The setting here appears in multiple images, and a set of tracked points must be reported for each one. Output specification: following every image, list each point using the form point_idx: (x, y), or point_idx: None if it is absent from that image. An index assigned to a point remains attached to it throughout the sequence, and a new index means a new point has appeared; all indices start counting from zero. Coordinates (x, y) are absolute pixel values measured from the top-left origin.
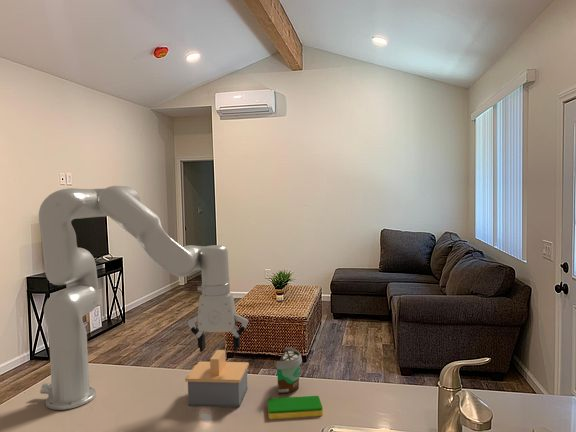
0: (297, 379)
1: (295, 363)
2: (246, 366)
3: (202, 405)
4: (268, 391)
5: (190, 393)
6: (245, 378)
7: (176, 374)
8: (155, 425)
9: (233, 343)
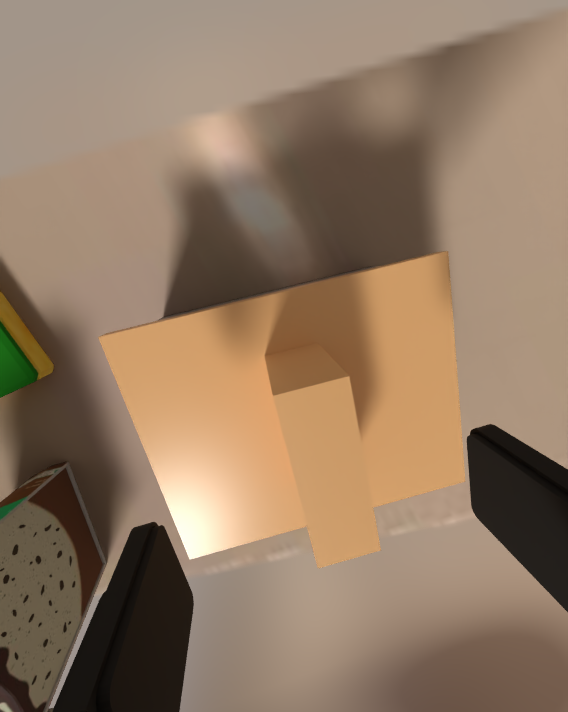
0: None
1: None
2: (172, 512)
3: (314, 280)
4: (122, 471)
5: None
6: None
7: None
8: (425, 70)
9: (131, 605)
